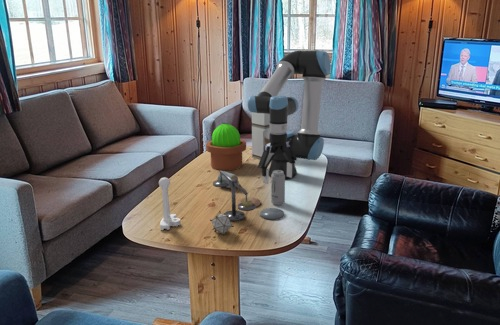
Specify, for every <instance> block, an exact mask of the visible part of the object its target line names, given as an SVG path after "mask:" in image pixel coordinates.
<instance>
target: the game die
mask: <svg viewBox="0 0 500 325" xmlns="http://www.w3.org/2000/svg"><path fill="white" fill-rule="evenodd" d="M228 216H229V215H228ZM228 216H227V215H224V213H222V211H219V213H218V214H217V215H216V216H215V217H214V218H212V219H209V221H210V222H211V223H212V226H213V228H212V230H214V233H216V232H218V233H220V234H222V236H225V233H226V232H228V231H229V230H230V229H231V228H235V226H234V225H232V222H231V221H230V218H231V217H230V218H229V217H228Z"/></svg>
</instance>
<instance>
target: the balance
mask: <svg viewBox="0 0 500 325" xmlns="http://www.w3.org/2000/svg"><path fill="white" fill-rule="evenodd" d="M223 171H224V170H219V174H220V180H218V179H216V180H215V181H213V182H212V186H214V187H215V188H226V186H229V185H231V190H230V191H231V210H228V211H225V212H224V213H223V214H224V215H227V216H228V215H229V216H228V217H229V218H230V217H231V218H230V221H231V223H235V222H236V223H237V222H241V221H243V220H245V218H246V214H245V212H251V211H254V210H255V209H256V207H255V204H253V203H252V200H250V199H248V192H247V191H246V190H245V189H244V188H242V187H241V186H240V185H239V184H237V180H236V179H231V178H230V177H229V176H228V175H227V174H225V173H224V172H223ZM222 175H223V176H224V177H226V178H227V179H228V180H229V181H227V180H222ZM235 186H236V187H235ZM236 188H237V189H238V190H239V191H240V192H241V193H242V194H244V196H245V198H246V199H242V198H241V199H242V200H241V203H240V204H239V205H238V204H237V202H236V199H237V198H236ZM237 209H238V210H237Z"/></svg>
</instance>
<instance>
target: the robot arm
mask: <svg viewBox="0 0 500 325" xmlns="http://www.w3.org/2000/svg"><path fill="white" fill-rule="evenodd" d="M331 66H332V65H331V59H330V55H329V53H328V52H327V51H323V50H294V51H292V52H290V53H287V54H286V55H285V56H283V57H282V58H280V60H279V61H278V62H277V64H276V68H275V71H274V72H273V73H272V75H271V76H270V78H269V79H268V80H267V82H266V83H265V84H264V86H263V87H262V89H261V90H260V92H259V93H258V94H257V95H251V96H249V98H248V101H247V110H248V111H249V112H250V113H252V112H254V113H265V114H270V128H269V131H270V132H271V133H270V135H269V140H270V143H269V145H267V146H266V145H265V146H264V151H263V154H262V157H261V159H259V163H258V165H257V167H258V168H259V169H261V176H262V182H263V184H266V185H268V184H269V177H270V178H271V175H272V173H273V171H275V170H281V171H283V172H284V175H285V180H290V179H294V178H296V177H298V176H297V174H298V172H297V168H296V165H295V164H296V162H297V160H298V159H303V160H308V161H310V160H313V161H316V160H318V159H319V158H320V157H321V155H322V153H323V150H324V147H325V146H324V145H325V141H324V140H325V139H324V138H323V137H321V135H322V134H321V132H320V131H319V124H320V123H319V121H320V112H321V110H320V109H321V99H322V89H323V88H322V87H323V82H324V81H325V80H326V79H327V77H326V76H329V75H330V74H331V68H332V67H331ZM294 75H302V77H301V78H302V79H303V80H304V87H303V102H302V111H301V112H302V113H301V126H300V130H298V131H297V134H295V132H294V131H293V130H288V116H291V115H293V114H295V113H296V112H297V111H298V109H299V102H298V100H297V99H296V98H295V97H293V96H286V95H279V94H280V92H281V91H282V89H283V88H284V86H285V84H286V83H287V81H289V79H291V78H292V77H293V76H294ZM268 167H269V168H268Z"/></svg>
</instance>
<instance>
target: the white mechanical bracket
mask: <svg viewBox="0 0 500 325" xmlns="http://www.w3.org/2000/svg"><path fill="white" fill-rule="evenodd" d="M158 185H159V187H160V188H161V190H162V191H161V192H162V213H163V217H162V218H161V220H160V222H159V228H160V229H161V230H164V229H165V230H171V227H174V226H176V227H178V225H179V226H180V225H181V218H179V217H177V214H176V213H171V209H170V201H169V192H168V191H169V187H170V185H171V181H170V179H169V178H168V177H161V178H160V179H159V181H158ZM161 230H160V231H161Z"/></svg>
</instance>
